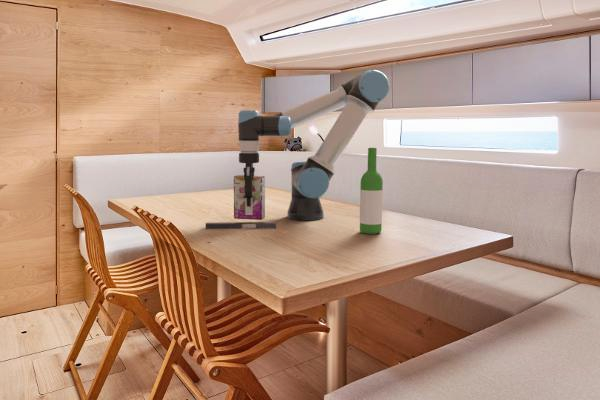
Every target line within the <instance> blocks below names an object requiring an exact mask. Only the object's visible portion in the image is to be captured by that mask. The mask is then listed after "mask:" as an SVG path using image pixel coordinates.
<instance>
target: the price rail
mask: <svg viewBox="0 0 600 400" xmlns="http://www.w3.org/2000/svg"><path fill="white" fill-rule="evenodd" d="M223 229H224V230H225V229H226V230H233V229H235V230H237V229H240V230H243V229H249V230H250V229H251V230H252V229H253V230H254V229H277V222H276V221H254V222H252V221H251V222H250V221H249V222H248V221H247V222H246V221H240V222H239V221H238V222H236V221H235V222H233V221H231V222H228V221H227V222H220V221H219V222H218V221H217V222H205V230H223Z"/></svg>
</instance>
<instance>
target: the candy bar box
mask: <svg viewBox="0 0 600 400" xmlns="http://www.w3.org/2000/svg"><path fill="white" fill-rule="evenodd" d="M243 196H245V179H244V174H238V175H234V176H233V219H236V220H252V221H253V220H257V221H263V220H264V219H265V218H266V176H265V175H254V177H253V179H252V197H253V215H245V198H243Z"/></svg>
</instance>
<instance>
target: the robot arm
mask: <svg viewBox="0 0 600 400" xmlns="http://www.w3.org/2000/svg"><path fill="white" fill-rule="evenodd" d="M389 91H390V82H389V78H388V77H387V76H386V74H385V73H383V72H381V71H379V70H376V69H371V70H370V69H369V70H366V71H364V72H363V73H360V74H358V75H357V76H355V77H353V78H352V79H350V80H348V81H346V82H345V83H342V84H340V85H339V86H338V88H337V89H335V90H333V91H330V92H328V93H325V94H323V95H320V96H317V97H315V98H313V99H310V100H308V101H305V102H304V103H301V104H298V105H296V106H294V107H292V108H289V109H287V110H284V111H282V112H280V113H277V114H275V115H260V113H259V110H253V109H251V110H250V109H247V110H246V109H242V110H240V111H239V112H238V122H237V124H238V143H237V145H236V146H238V151H239V153H238V162H239V163H240V164H245V167H243V175H244V179H245V196H243V198H245V215H253V197H252V179H253V177H254V176H255V170H256V168H255V167H254V165H253V164H258V163H259V162H260V154H259V151H260V137H281V138H283V137H289V136H290V135H291V133H292V129H293V128H296V127H298V126H301V125H304V124H307V123H309V122H311V121H314V120H316V119H319V118H321V117H323V116H326V115H328V114H330V113H333V112H335V111H338V110H340V109H342V111H341V113H340V114H339V115H338V117H337V119H336V120H335V122H334V124H333V125H332V127H331V129H330V130H329V131H328V134H327V135H326V137H325V138H324V140H323V141H322V143H321V144H320V146H319V148H318V149H317V151H316V152H315V154H314V155H312V156H311V155H310V156H309V157H308V158H307V159H306V161H297V162H292V164H291V167H290V168H291V169H290V171H291V172H290V173H291V200H290V202H289V207H288V208H287V212H286V214H287V218H288V219H289V220H294V221H317V220H322V219H324V215H325V214H324V210H323V206H322V203H321V200H320V197H322V196H324V195H325V194H326V192H327V191H328V189H329V186H330V182H331V180H332V179H333V176H334V174H335V170H334V169H335V168H334V167H335V165H336V164H337V162H338V161H339V159H340V158H341V156H342V154H343V153H344V151H345V149H346V148H347V147H348V145H349V143H350V142H351V140H352V138H353V137H354V135H355V134H356V132H357V131H358V129H359V127H360V126H361V124H362V122H363V121H364V120H365V118H366V117H367V115H368V114H372V113H373V112H374V111H375V109H376V108H377V106H378V104H379V103H380V102H381V101H383V100H384V99H386V97H387V96H388V93H389Z"/></svg>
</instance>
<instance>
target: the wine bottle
mask: <svg viewBox="0 0 600 400" xmlns="http://www.w3.org/2000/svg"><path fill="white" fill-rule="evenodd" d="M383 184H384V183H383V177H382V175H381V174H380V173H379V172H378V171H377V147H368V148H367V170H366V171H365V172H364V173H363V175H362V176H361V179H360V189H359V192H360V194H359V195H360V197H359V198H360V199H359V231H360V232H361V233H362V234H365V233H366V234H367V235H377V233H378V234H380V233H381V232H382V227H383V226H382V225H383V224H382V222H383V221H382V219H383Z"/></svg>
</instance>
